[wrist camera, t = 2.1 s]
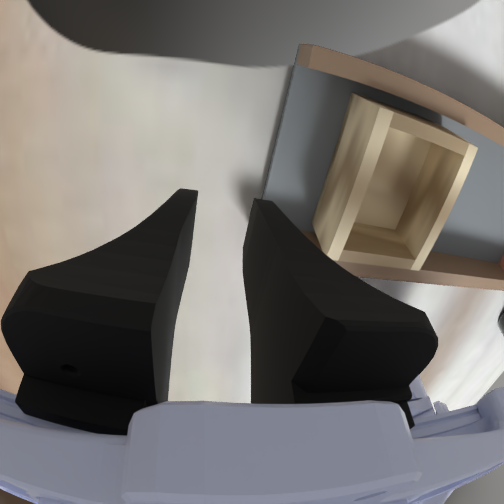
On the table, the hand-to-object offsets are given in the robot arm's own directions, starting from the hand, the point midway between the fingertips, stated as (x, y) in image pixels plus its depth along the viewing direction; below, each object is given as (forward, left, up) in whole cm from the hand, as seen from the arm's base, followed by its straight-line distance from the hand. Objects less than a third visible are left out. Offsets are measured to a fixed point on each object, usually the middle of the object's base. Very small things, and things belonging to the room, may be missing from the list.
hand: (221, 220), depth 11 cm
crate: (0, -10, -9) cm, 14 cm away
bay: (0, -18, -9) cm, 20 cm away
